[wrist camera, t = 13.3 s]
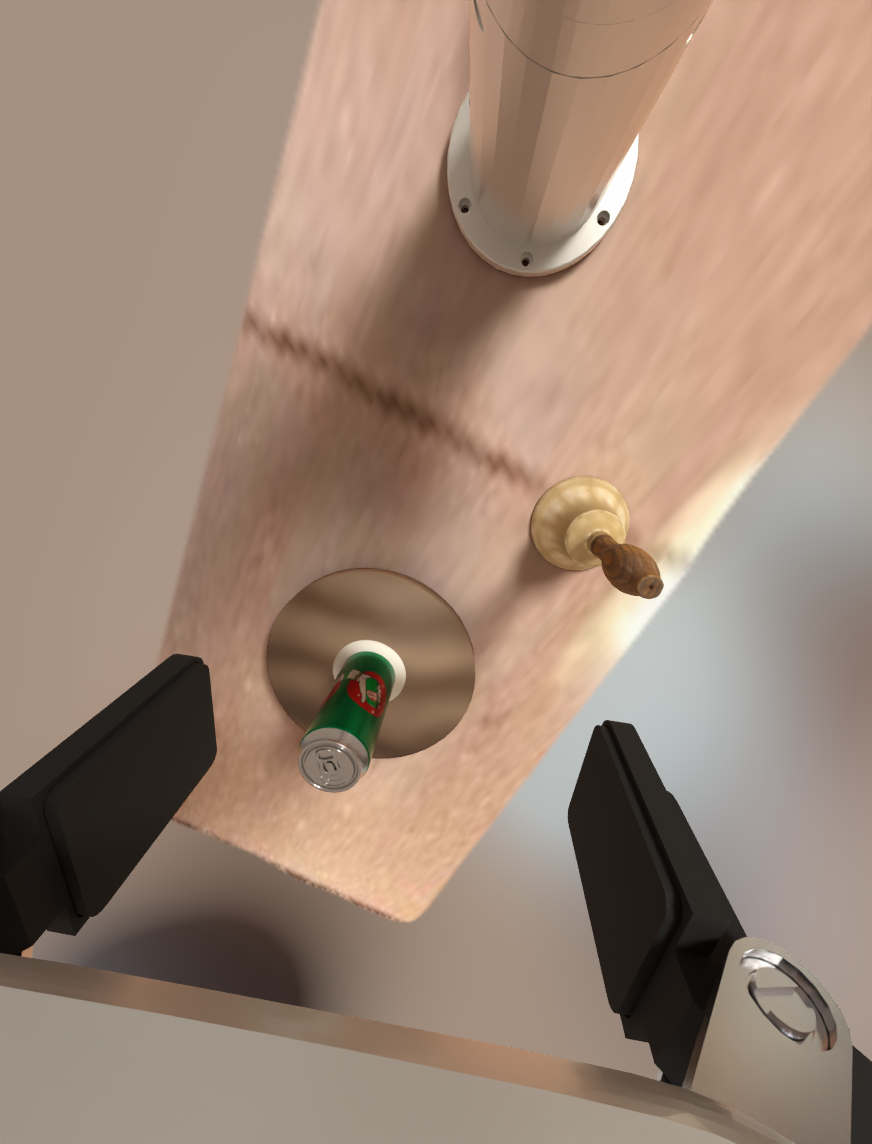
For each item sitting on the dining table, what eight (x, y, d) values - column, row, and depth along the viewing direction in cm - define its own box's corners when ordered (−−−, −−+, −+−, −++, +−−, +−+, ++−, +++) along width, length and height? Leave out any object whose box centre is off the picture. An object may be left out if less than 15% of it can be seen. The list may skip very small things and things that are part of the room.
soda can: (353, 698, 40) (307, 801, 29) (336, 653, 39) (281, 743, 28) (402, 690, 40) (375, 792, 28) (388, 643, 38) (352, 731, 27)
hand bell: (545, 581, 38) (594, 677, 23) (518, 495, 36) (554, 539, 21) (637, 553, 37) (755, 635, 21) (616, 461, 34) (730, 482, 19)
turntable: (271, 555, 38) (263, 560, 37) (489, 583, 37) (490, 589, 36) (275, 733, 44) (268, 743, 43) (460, 760, 44) (460, 772, 42)
